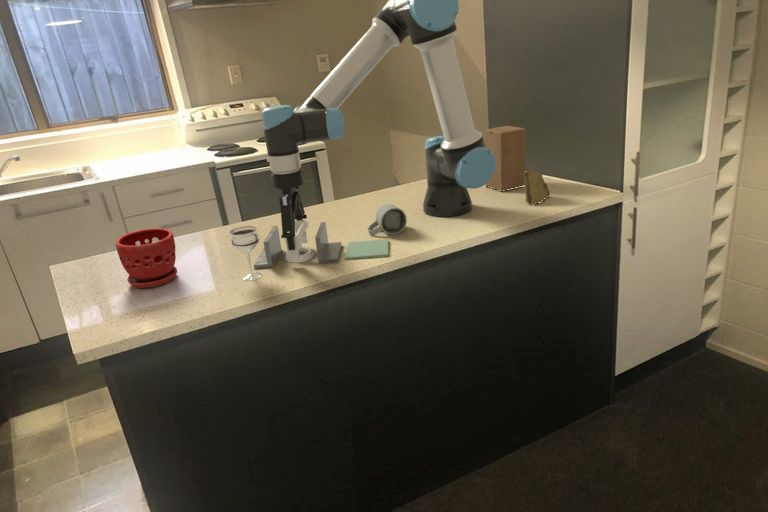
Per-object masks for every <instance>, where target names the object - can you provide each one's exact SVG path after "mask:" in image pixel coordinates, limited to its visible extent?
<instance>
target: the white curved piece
mask: <svg viewBox="0 0 768 512" xmlns="http://www.w3.org/2000/svg"><path fill="white" fill-rule="evenodd" d="M309 224H310V223H309V222H308V221H307V220H304V222H303V223H302V225H301V226H300V228H299V230H298V232H297V233H296V232H295V236H297V243H298V249H299V253H303V254H299V256H300V261H291V262H289V259H288V252H287V251H286V253H285V255H284V260H285V262H288V263H304V262H306V261H309V260H311V259H312V258H314V257H315V253H314V251H313V250H312V248H310V247H307V246H302V243H301V244H300V239H301V238H302V236H303V234H304V233H305V231H306V232H307V229H308V227H309V226H310V225H309Z"/></svg>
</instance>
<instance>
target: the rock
mask: <svg viewBox="0 0 768 512" xmlns="http://www.w3.org/2000/svg"><path fill="white" fill-rule="evenodd" d="M524 181H525V187H524V188H525V203H526V202H528V203H529V204H532V205H533V204H535V203H538V202H541V201H542V200H544V198H546V197H547V196H549V195H550V196H551V193H550V190H549V188H548V185H547V183H546V182H545V180H544V178H543V174H542V173H539V171H536V170H527V171H525V178H524ZM546 199H547V198H546ZM544 201H545V200H544ZM529 204H528V205H529ZM532 205H531V206H532Z"/></svg>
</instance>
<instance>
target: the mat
mask: <svg viewBox="0 0 768 512" xmlns="http://www.w3.org/2000/svg"><path fill="white" fill-rule="evenodd" d="M384 256H386V257H389V239H388V238H386V239H375V240H373V239H372V240H371V239H370V240H361V241H349V242H347V247H346V252H345V255H344V259H345V260H357V258H359V259H370V258H369V257H373V258H385V257H384Z"/></svg>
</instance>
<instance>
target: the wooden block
mask: <svg viewBox="0 0 768 512" xmlns="http://www.w3.org/2000/svg"><path fill="white" fill-rule="evenodd" d="M483 134H484V136H483V140H484V144H485V148H487V149H489V150H490V151H491V152H492V153H493V154H494V156H495V159H496V168H495V172H494V174H493V175H492V177H491V179H490V180H489V181H488V182H487V183H486V184H485V185H486V186H489V187H492V188H495V189H498V190H501V191H503V190H507V189H511V188H515V187H519V186H523V185H525V181H524V178H525V172H526V146H527V144H526V139H527V138H526V135H527V130H526V128H524V127H519V126H514V125H513V126H511V125H505V126H504V125H503V126H498V127H491V128H486V129H484V131H483ZM485 185H484V186H485ZM486 186H485V187H486Z"/></svg>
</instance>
